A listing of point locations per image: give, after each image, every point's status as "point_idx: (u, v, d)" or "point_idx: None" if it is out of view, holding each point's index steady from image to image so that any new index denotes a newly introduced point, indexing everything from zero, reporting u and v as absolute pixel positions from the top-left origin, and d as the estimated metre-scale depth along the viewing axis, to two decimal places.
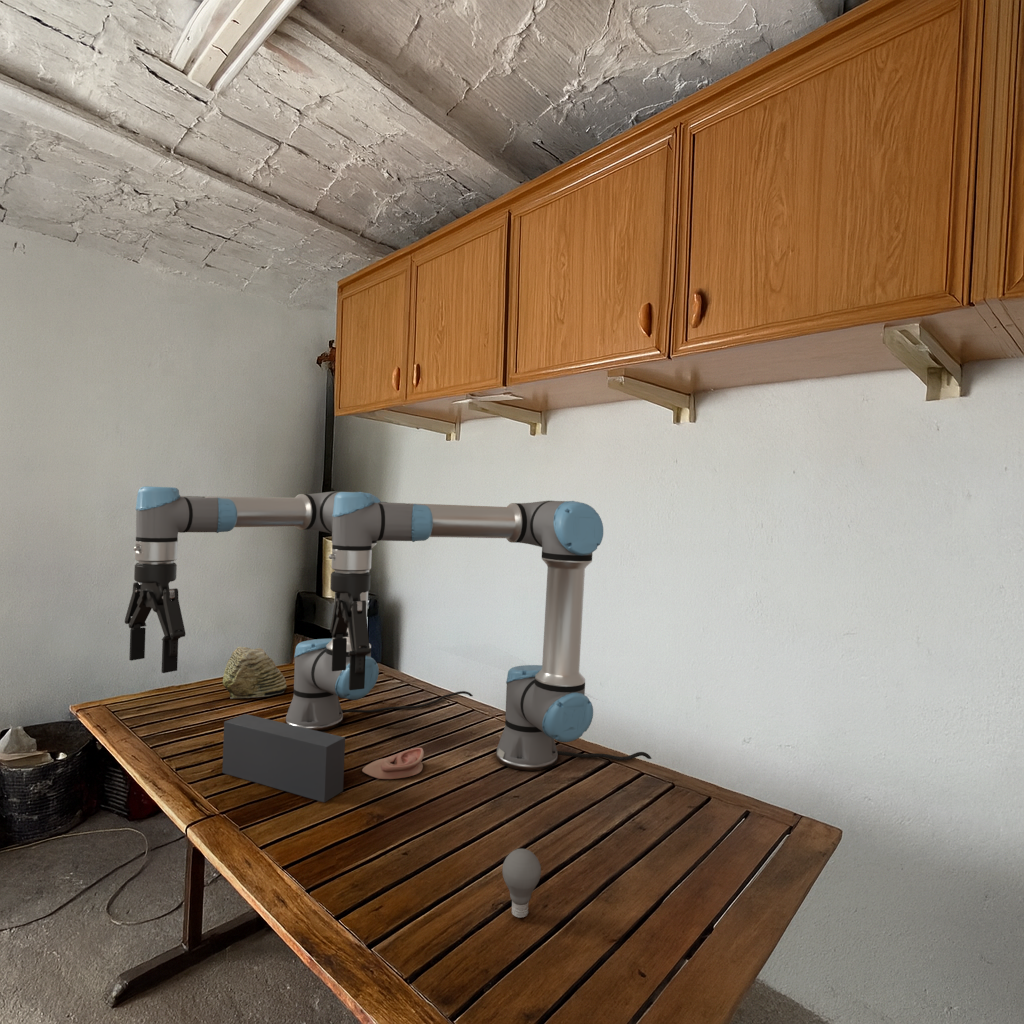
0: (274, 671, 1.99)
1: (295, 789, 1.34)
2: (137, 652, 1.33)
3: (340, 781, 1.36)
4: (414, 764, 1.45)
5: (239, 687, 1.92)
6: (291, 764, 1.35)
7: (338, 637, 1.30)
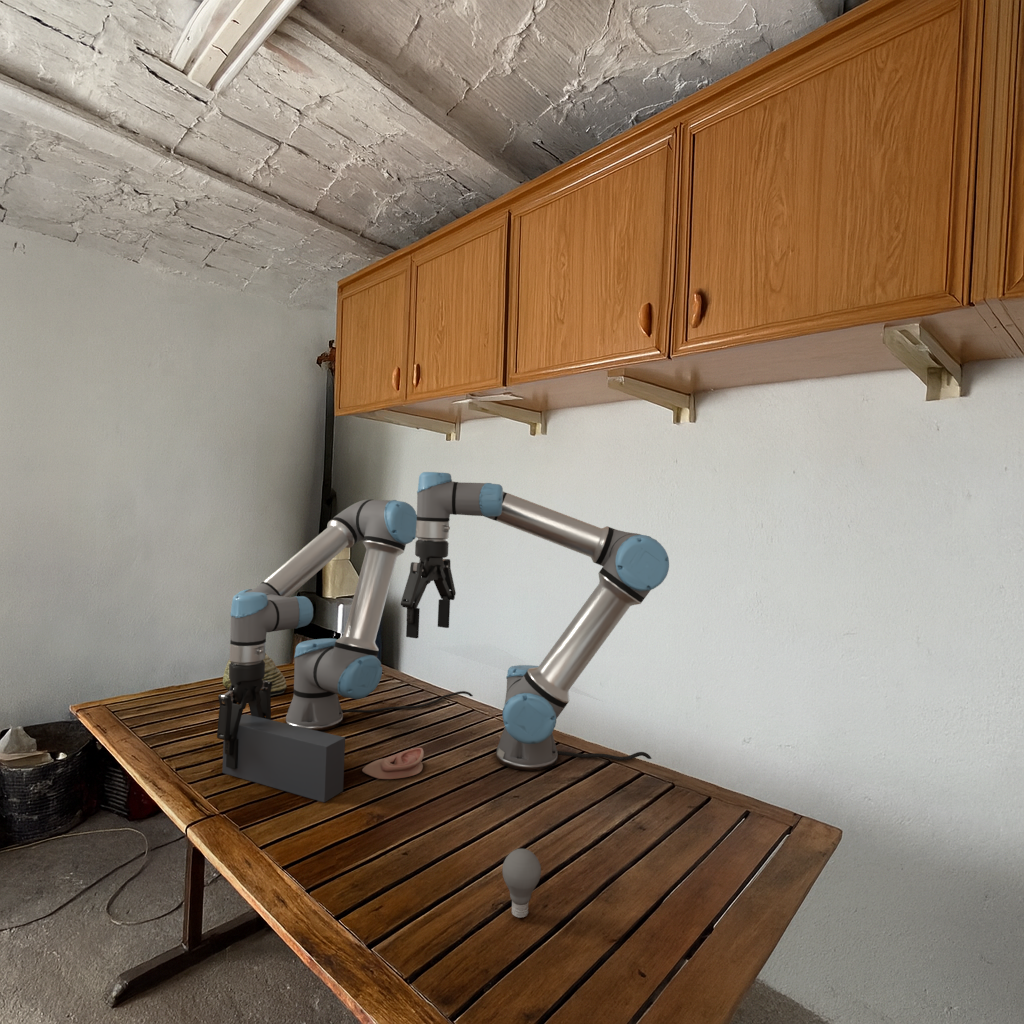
0: (274, 671, 1.99)
1: (295, 789, 1.34)
2: None
3: (340, 781, 1.36)
4: (414, 764, 1.45)
5: None
6: (291, 764, 1.35)
7: None
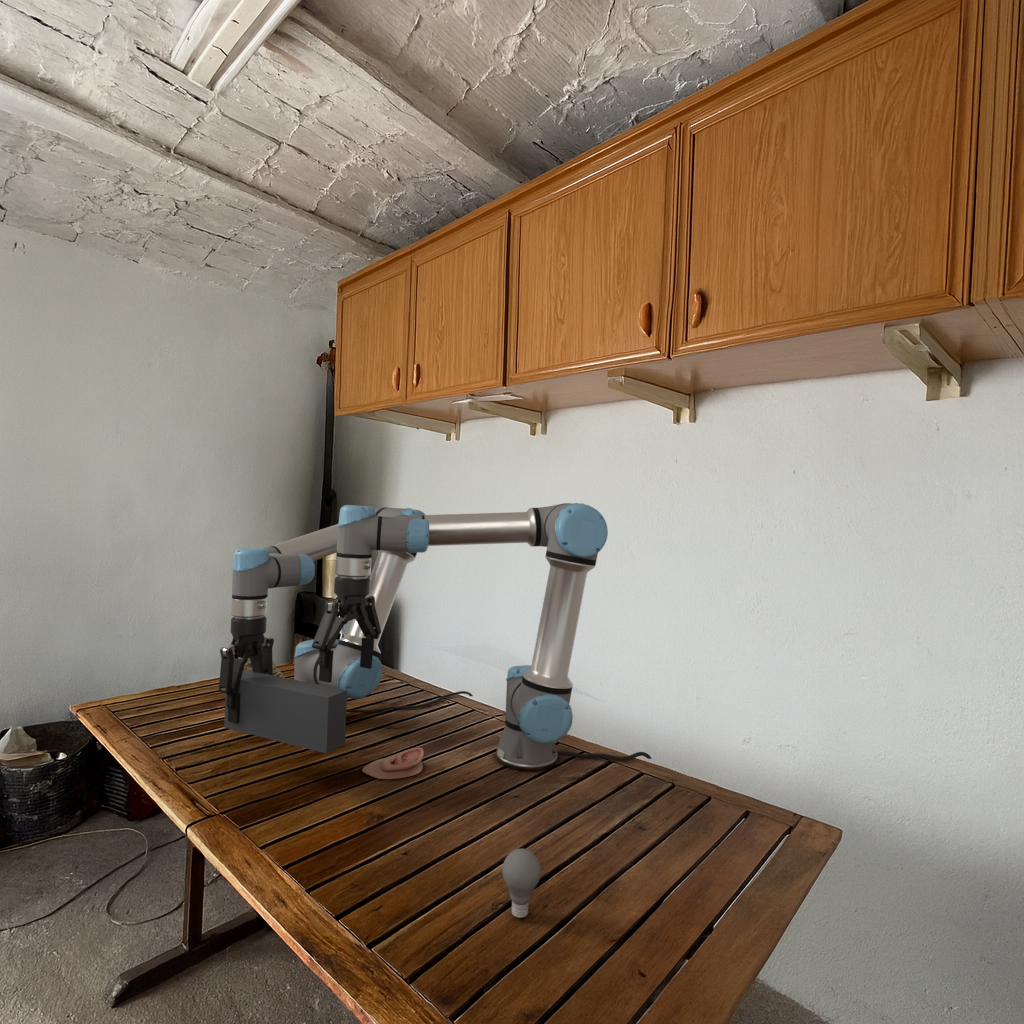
0: (274, 671, 1.99)
1: (297, 741, 1.34)
2: None
3: (342, 733, 1.36)
4: (414, 764, 1.45)
5: None
6: (293, 716, 1.35)
7: None
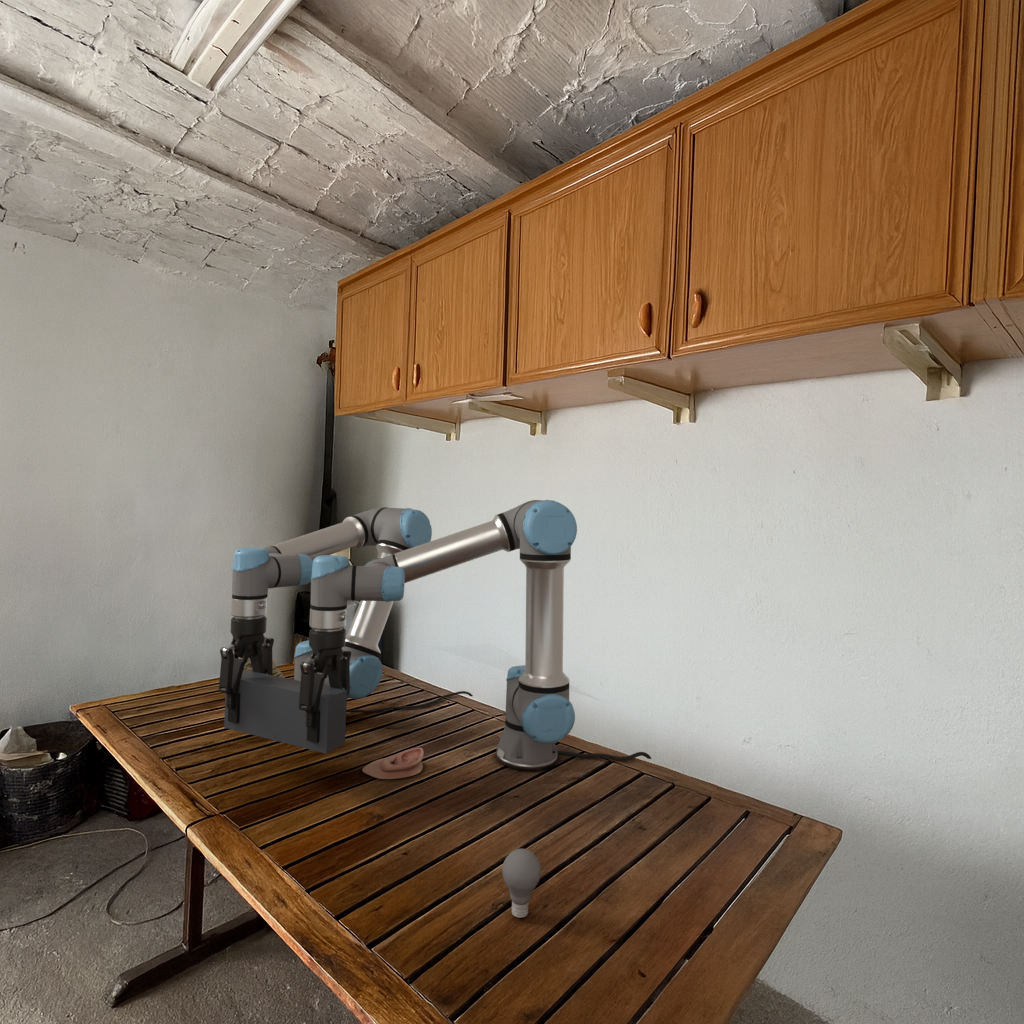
0: (274, 671, 1.99)
1: (297, 741, 1.34)
2: None
3: (341, 733, 1.36)
4: (414, 764, 1.45)
5: None
6: (292, 716, 1.35)
7: None
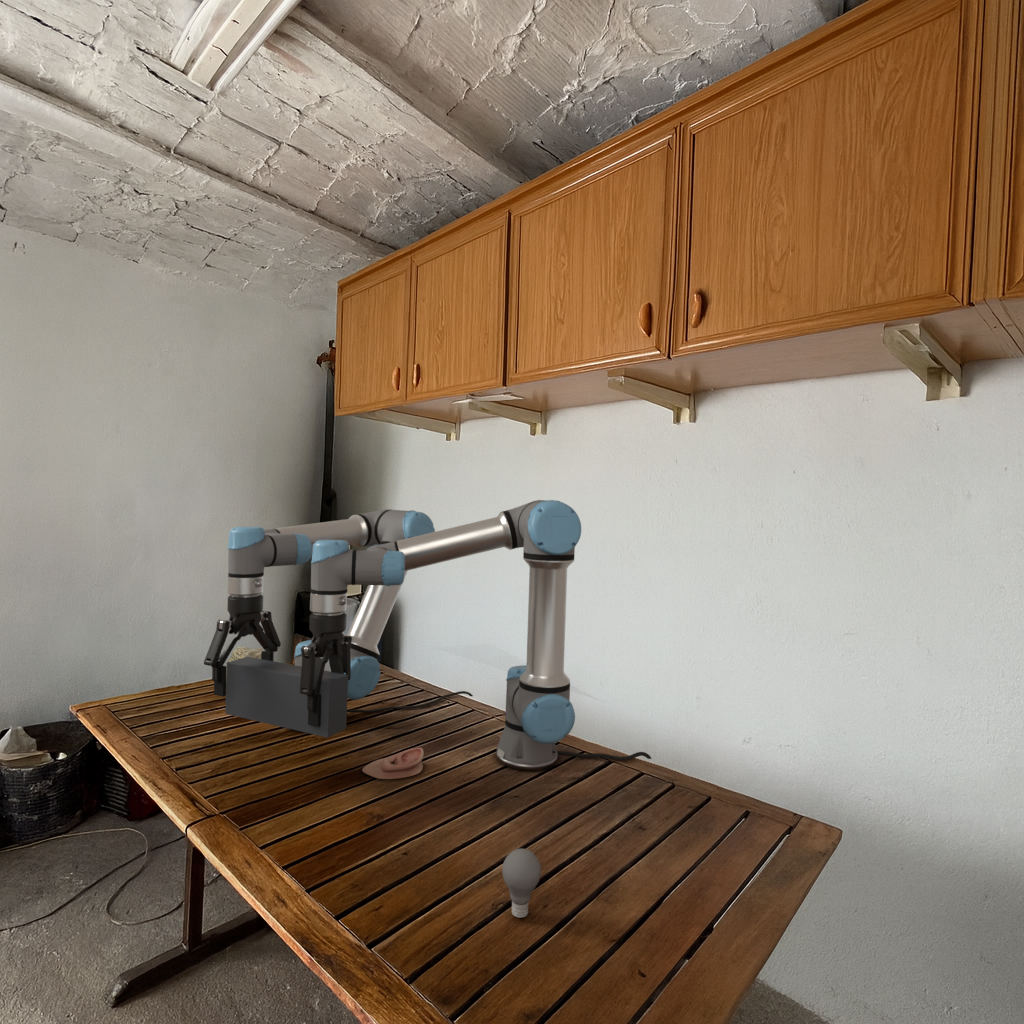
0: None
1: (298, 725, 1.34)
2: None
3: (343, 718, 1.35)
4: (414, 764, 1.45)
5: None
6: (294, 701, 1.35)
7: None
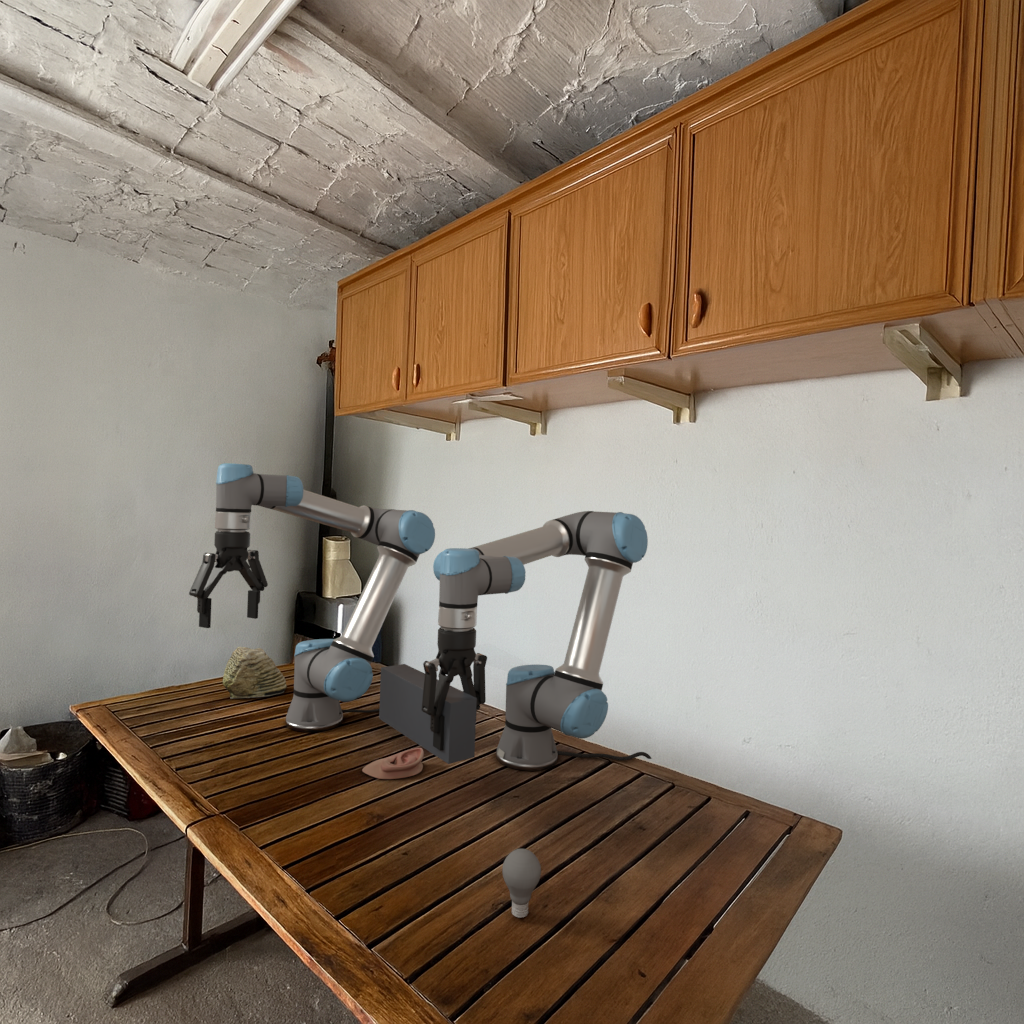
0: (274, 671, 1.99)
1: (427, 745, 1.26)
2: None
3: (469, 745, 1.23)
4: (414, 764, 1.45)
5: (239, 687, 1.92)
6: (424, 718, 1.27)
7: None
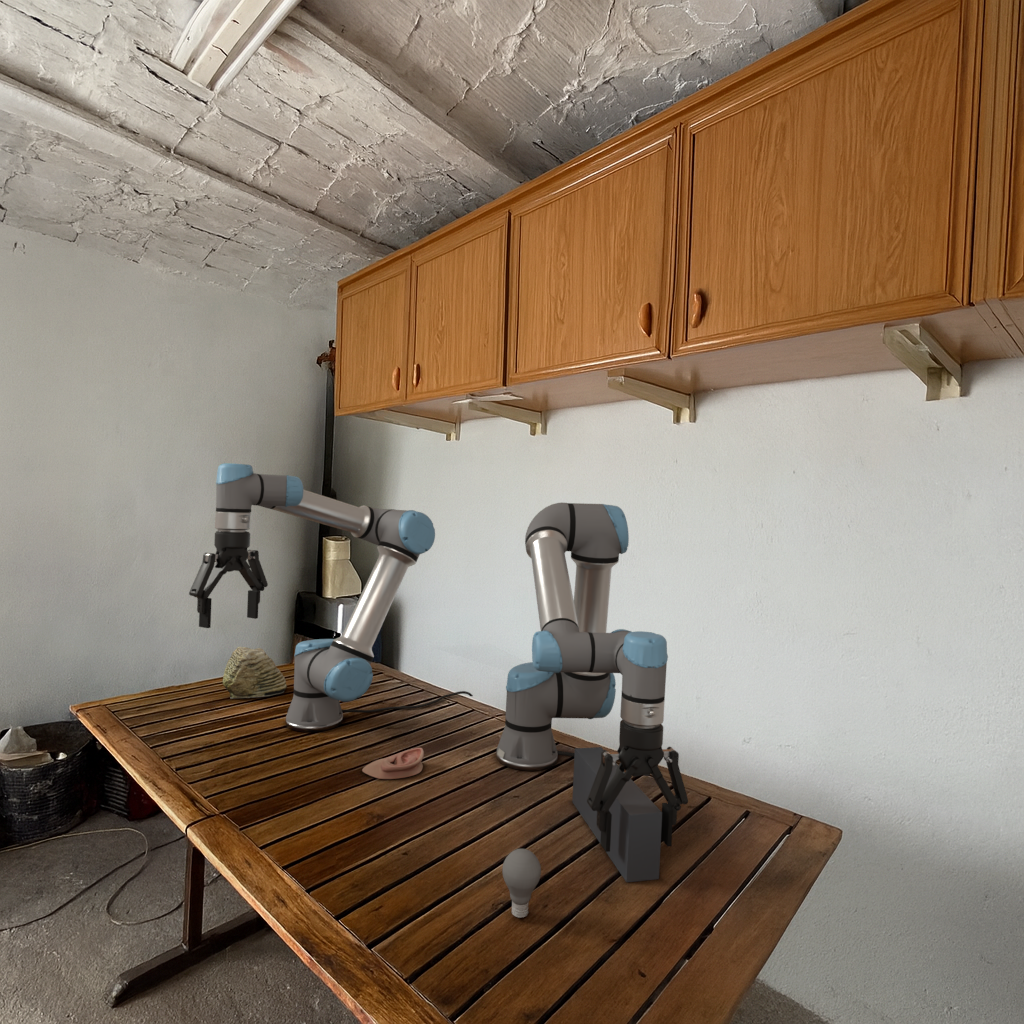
0: (274, 671, 1.99)
1: None
2: None
3: (653, 864, 1.09)
4: (414, 764, 1.45)
5: (239, 687, 1.92)
6: None
7: None
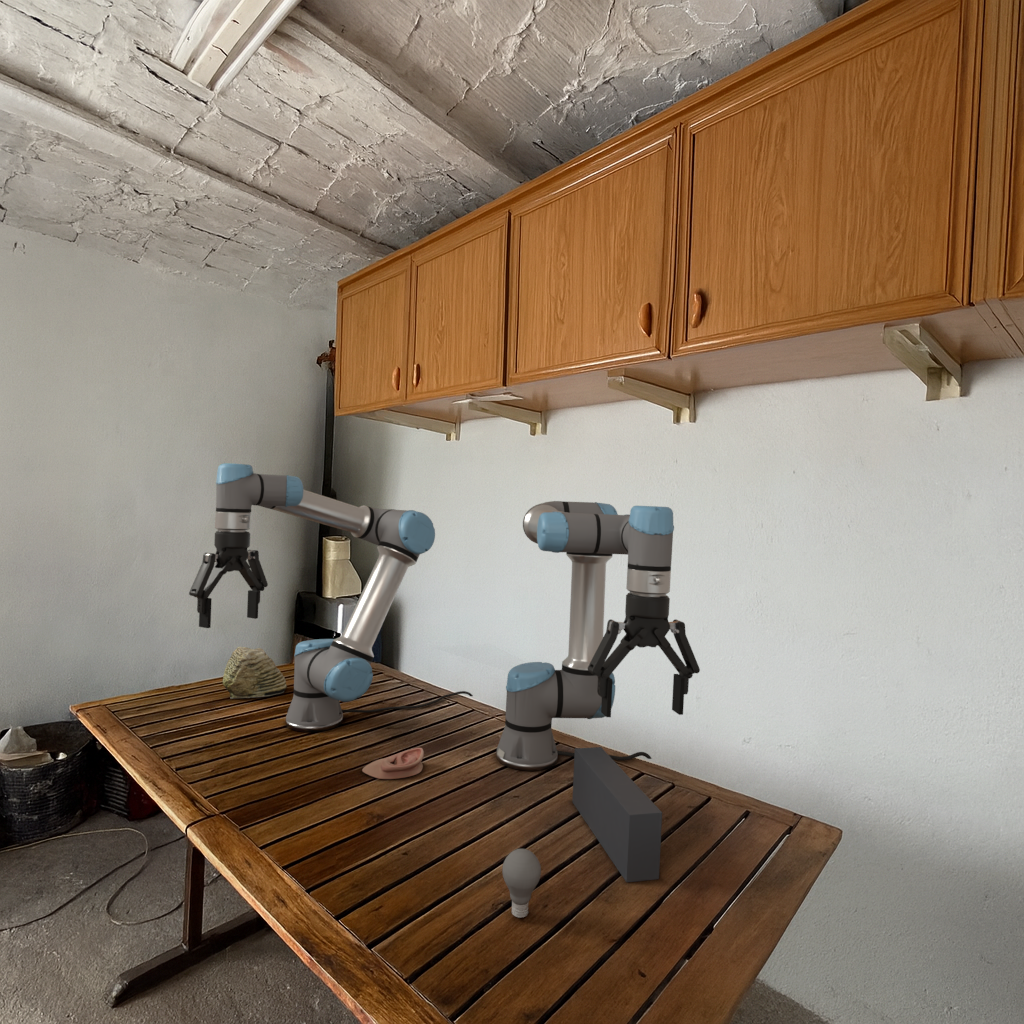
0: (274, 671, 1.99)
1: (609, 851, 1.16)
2: None
3: (653, 864, 1.09)
4: (414, 764, 1.45)
5: (239, 687, 1.92)
6: (607, 820, 1.17)
7: None
